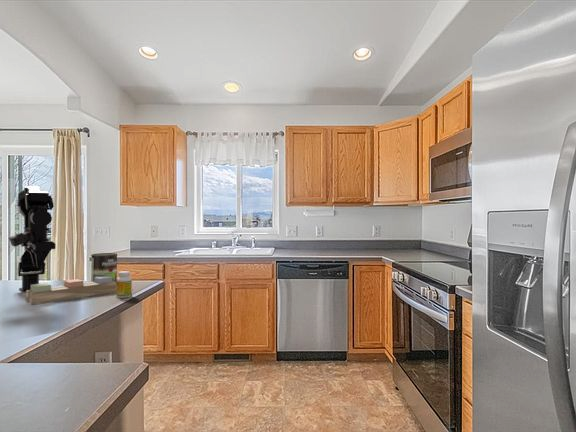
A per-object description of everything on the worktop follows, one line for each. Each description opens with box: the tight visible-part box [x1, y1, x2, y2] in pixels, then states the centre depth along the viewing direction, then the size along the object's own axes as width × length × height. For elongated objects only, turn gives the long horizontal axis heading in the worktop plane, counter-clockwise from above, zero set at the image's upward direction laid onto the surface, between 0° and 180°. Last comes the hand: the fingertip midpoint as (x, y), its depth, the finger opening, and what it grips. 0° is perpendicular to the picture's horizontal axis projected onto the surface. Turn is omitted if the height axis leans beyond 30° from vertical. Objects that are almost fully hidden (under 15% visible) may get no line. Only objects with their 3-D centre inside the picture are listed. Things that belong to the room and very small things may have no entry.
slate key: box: [94, 276, 112, 284], centre depth 149 cm, size 5×5×4 cm
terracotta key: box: [63, 278, 84, 288], centre depth 140 cm, size 5×5×4 cm
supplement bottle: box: [115, 270, 133, 299], centre depth 141 cm, size 5×5×10 cm
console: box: [25, 281, 117, 306], centre depth 140 cm, size 7×29×4 cm, turn 140°
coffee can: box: [90, 252, 118, 286], centre depth 159 cm, size 10×10×14 cm
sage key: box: [31, 282, 52, 293], centre depth 132 cm, size 5×5×4 cm
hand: (37, 267), depth 134 cm, fingers open, 3 cm apart
